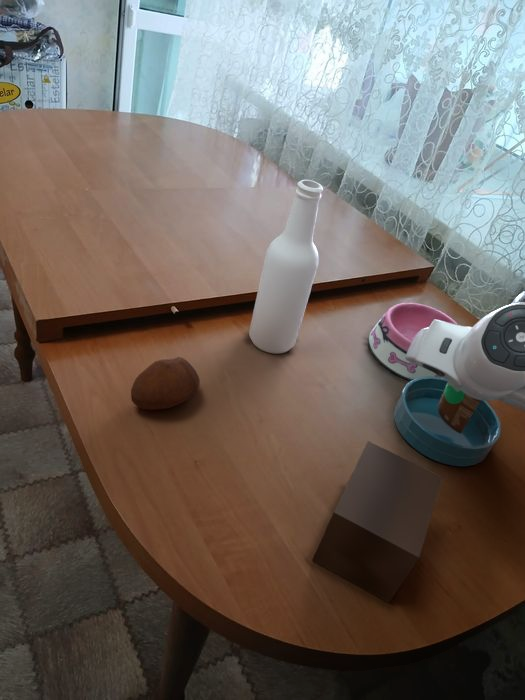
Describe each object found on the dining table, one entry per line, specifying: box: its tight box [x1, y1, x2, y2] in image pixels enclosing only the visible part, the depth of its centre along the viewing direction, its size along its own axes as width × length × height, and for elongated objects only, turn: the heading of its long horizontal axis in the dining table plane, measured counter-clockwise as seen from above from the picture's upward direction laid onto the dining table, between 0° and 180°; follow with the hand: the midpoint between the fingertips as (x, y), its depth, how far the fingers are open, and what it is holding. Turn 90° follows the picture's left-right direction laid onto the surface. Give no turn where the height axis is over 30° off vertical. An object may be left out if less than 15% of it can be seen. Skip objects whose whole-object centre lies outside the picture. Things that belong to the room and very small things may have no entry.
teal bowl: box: [393, 377, 502, 467], centre depth 88 cm, size 16×16×4 cm
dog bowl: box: [367, 302, 459, 382], centre depth 103 cm, size 18×19×7 cm
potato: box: [130, 356, 201, 411], centre depth 80 cm, size 8×12×8 cm, turn 138°
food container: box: [438, 381, 481, 434], centre depth 84 cm, size 12×6×10 cm, turn 147°
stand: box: [312, 440, 443, 604], centre depth 67 cm, size 10×13×10 cm
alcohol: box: [248, 179, 324, 354], centre depth 91 cm, size 9×9×30 cm
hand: (467, 382), depth 84 cm, fingers closed on food container, 5 cm apart
